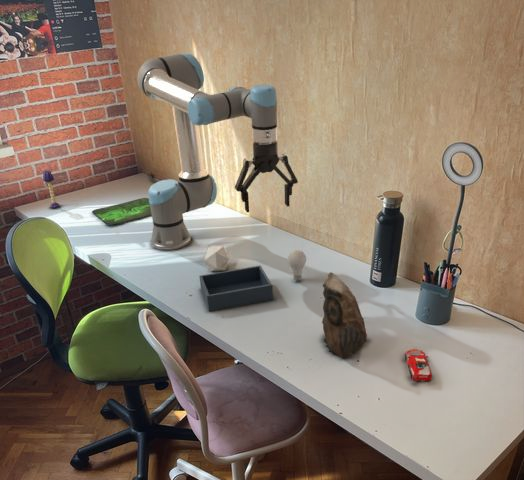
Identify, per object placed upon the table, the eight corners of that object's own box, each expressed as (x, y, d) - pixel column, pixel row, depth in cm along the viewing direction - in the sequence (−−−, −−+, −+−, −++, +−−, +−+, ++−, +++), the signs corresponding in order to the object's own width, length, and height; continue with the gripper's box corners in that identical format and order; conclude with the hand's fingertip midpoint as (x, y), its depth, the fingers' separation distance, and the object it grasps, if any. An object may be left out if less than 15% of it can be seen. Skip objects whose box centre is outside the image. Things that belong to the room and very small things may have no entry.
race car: (403, 355, 156) (404, 343, 153) (423, 354, 155) (425, 342, 153) (411, 385, 145) (412, 372, 143) (432, 385, 145) (434, 372, 142)
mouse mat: (146, 197, 266) (145, 195, 265) (167, 211, 251) (166, 209, 250) (90, 212, 254) (90, 210, 253) (109, 227, 239) (108, 225, 238)
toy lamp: (60, 204, 265) (51, 168, 255) (61, 207, 261) (52, 171, 252) (50, 206, 263) (40, 170, 254) (51, 209, 260) (41, 173, 250)
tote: (201, 290, 191) (199, 275, 188) (261, 279, 195) (260, 265, 192) (209, 311, 180) (207, 296, 176) (273, 299, 183) (272, 284, 180)
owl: (344, 362, 154) (346, 298, 143) (307, 346, 161) (306, 284, 150) (369, 341, 162) (373, 279, 150) (332, 326, 169) (334, 266, 157)
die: (220, 278, 198) (234, 253, 196) (198, 266, 197) (211, 240, 195) (222, 275, 207) (235, 251, 204) (200, 264, 206) (213, 239, 203)
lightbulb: (308, 277, 195) (308, 248, 188) (303, 285, 190) (303, 255, 184) (291, 275, 196) (290, 246, 190) (286, 283, 192) (285, 254, 185)
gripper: (227, 149, 167) (232, 217, 180) (307, 140, 172) (307, 206, 184) (222, 142, 173) (227, 208, 185) (299, 133, 178) (299, 198, 190)
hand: (267, 207), depth 185 cm, fingers open, 13 cm apart
